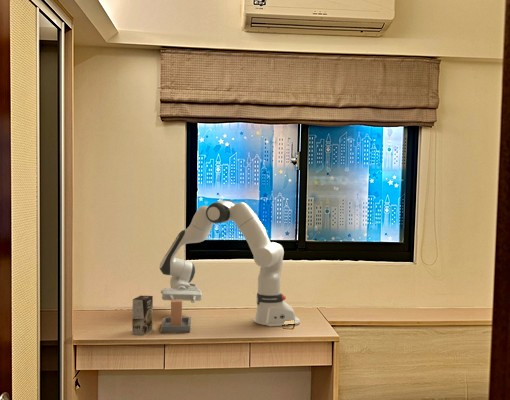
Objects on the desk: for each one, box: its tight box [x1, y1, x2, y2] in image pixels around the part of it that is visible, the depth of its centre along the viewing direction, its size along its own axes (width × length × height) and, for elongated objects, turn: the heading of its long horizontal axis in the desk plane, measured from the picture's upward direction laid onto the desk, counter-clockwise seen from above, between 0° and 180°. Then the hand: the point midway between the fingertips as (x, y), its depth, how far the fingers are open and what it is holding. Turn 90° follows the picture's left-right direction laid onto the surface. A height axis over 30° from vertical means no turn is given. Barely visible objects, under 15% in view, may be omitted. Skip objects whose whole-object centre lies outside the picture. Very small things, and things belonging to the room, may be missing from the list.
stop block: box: [170, 299, 183, 326], centre depth 246 cm, size 5×5×12 cm
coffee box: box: [131, 295, 154, 336], centre depth 239 cm, size 9×6×16 cm
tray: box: [160, 316, 192, 334], centre depth 247 cm, size 13×16×3 cm
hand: (183, 301), depth 259 cm, fingers open, 8 cm apart
